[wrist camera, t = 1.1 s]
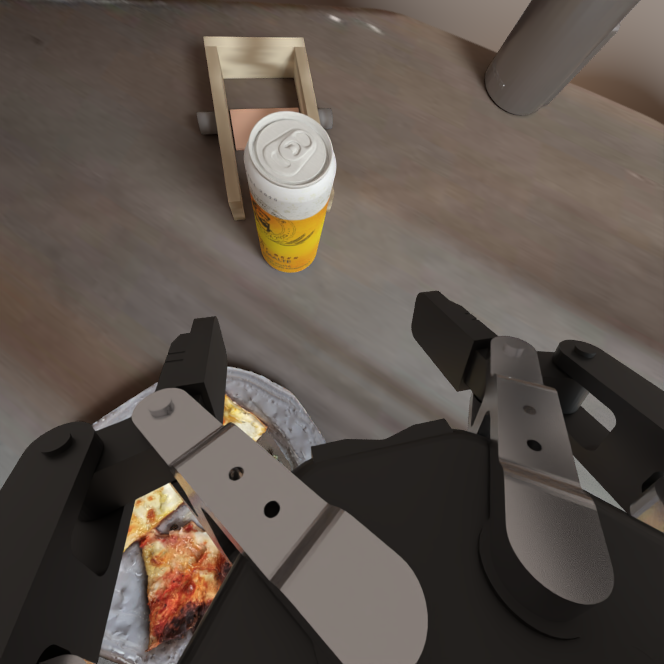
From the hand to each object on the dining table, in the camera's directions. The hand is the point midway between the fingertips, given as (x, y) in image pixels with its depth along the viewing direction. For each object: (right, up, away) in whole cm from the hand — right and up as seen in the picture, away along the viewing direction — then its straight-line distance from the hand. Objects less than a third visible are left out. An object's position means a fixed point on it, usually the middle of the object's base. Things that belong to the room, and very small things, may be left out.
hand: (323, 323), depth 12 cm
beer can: (-4, +9, +22) cm, 24 cm away
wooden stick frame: (-7, +22, +23) cm, 32 cm away
